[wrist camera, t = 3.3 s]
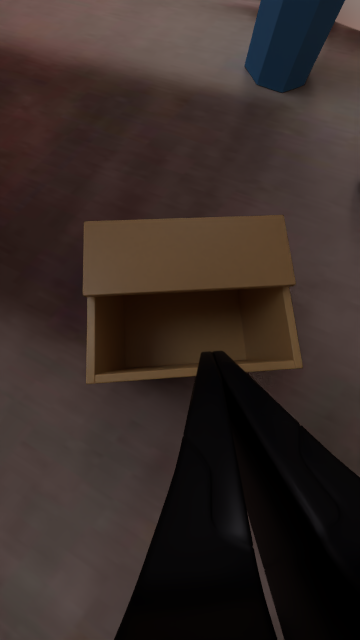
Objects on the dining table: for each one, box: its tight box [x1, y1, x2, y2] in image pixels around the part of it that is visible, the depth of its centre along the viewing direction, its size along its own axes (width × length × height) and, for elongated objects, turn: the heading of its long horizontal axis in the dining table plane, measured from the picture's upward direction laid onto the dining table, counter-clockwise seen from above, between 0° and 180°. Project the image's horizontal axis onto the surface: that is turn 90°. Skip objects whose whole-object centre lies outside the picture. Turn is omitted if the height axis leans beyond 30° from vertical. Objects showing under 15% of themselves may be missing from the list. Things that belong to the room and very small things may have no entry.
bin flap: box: [83, 215, 296, 297], centre depth 13 cm, size 5×13×1 cm, turn 94°
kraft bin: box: [86, 287, 303, 384], centre depth 17 cm, size 10×13×9 cm
